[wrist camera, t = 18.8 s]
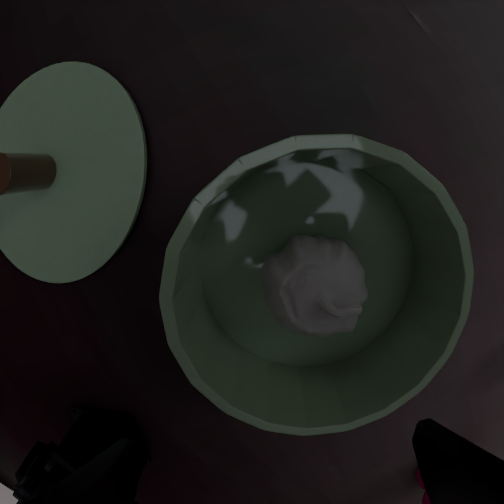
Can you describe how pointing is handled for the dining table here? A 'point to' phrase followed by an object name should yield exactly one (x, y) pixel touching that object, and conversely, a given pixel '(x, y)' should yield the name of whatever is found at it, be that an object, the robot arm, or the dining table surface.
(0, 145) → the lid
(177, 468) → the dining table surface
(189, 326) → the squat sage green cylinder
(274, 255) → the garlic
